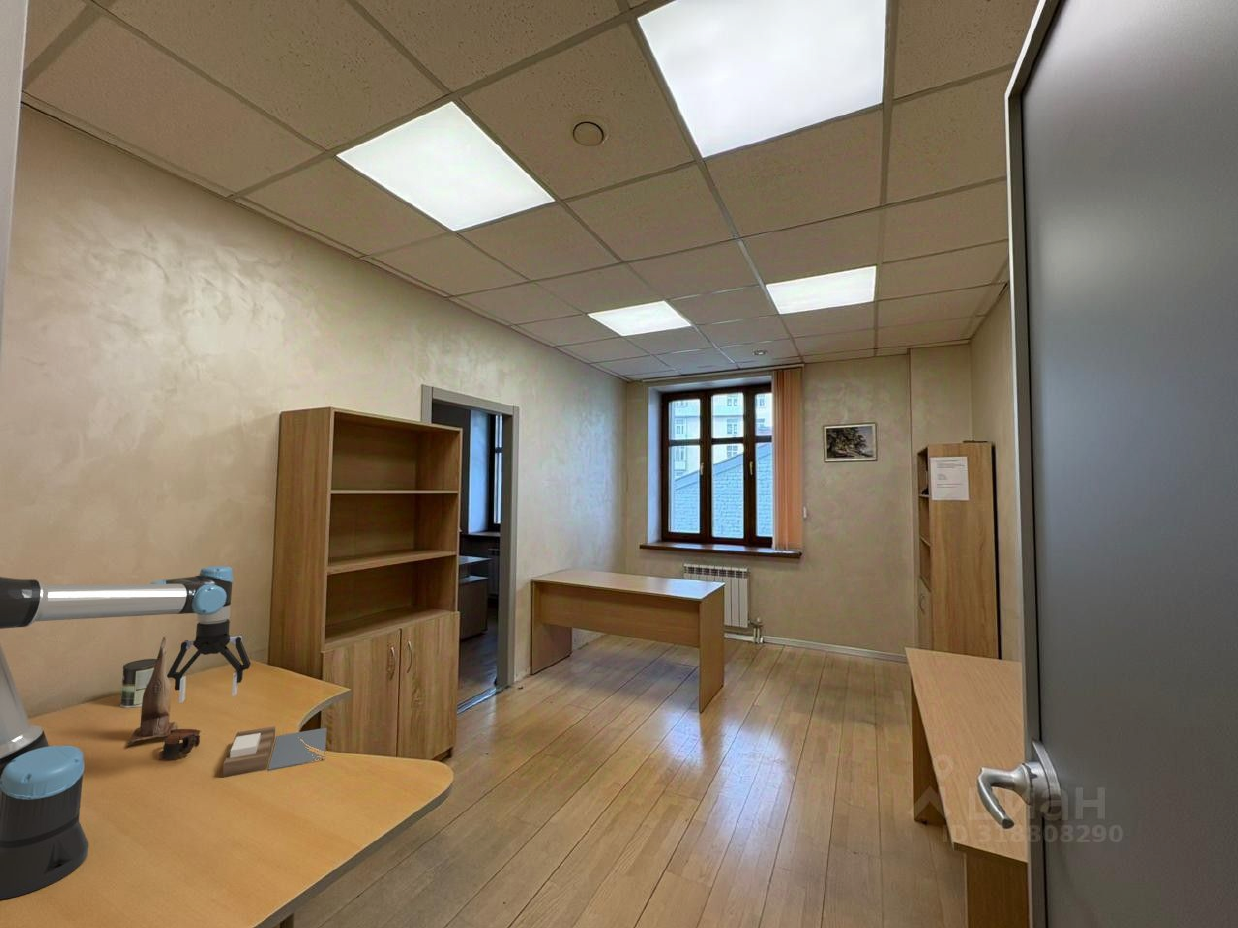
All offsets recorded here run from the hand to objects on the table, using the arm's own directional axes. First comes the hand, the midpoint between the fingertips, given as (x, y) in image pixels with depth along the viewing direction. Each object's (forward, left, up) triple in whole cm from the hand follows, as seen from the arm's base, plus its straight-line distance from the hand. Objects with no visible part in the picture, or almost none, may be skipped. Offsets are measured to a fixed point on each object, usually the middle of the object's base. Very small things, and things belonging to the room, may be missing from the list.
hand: (208, 697), depth 147 cm
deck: (+3, -11, -20) cm, 23 cm away
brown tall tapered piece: (+29, +18, -20) cm, 40 cm away
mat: (+3, -23, -20) cm, 31 cm away
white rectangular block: (0, -10, -16) cm, 19 cm away
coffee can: (+65, +31, -20) cm, 75 cm away
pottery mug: (+14, +8, -21) cm, 26 cm away
